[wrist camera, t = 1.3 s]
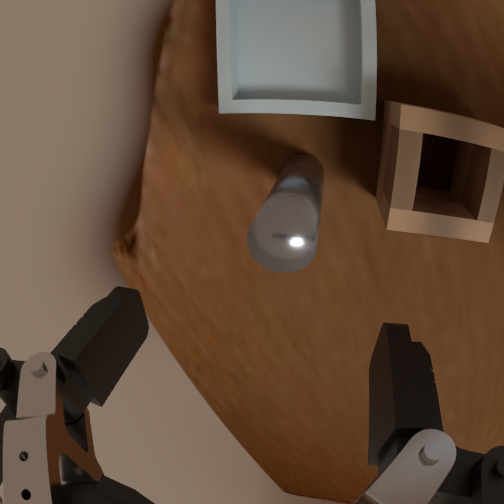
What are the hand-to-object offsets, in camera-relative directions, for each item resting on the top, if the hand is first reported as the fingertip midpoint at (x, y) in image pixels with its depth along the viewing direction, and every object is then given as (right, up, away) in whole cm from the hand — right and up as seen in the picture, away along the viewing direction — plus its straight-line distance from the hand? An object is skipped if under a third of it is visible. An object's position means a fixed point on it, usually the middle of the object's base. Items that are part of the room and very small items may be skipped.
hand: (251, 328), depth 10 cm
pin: (+4, +9, +15) cm, 18 cm away
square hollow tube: (+14, +10, +11) cm, 20 cm away
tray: (+3, +18, +10) cm, 20 cm away
